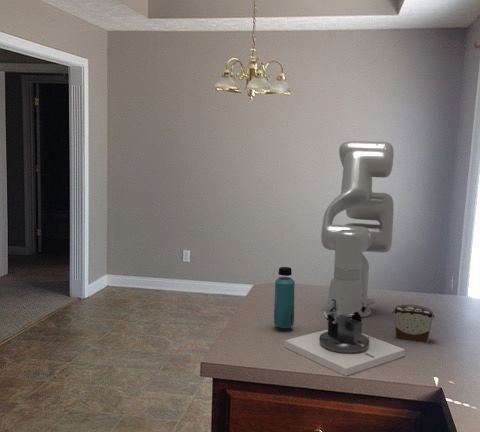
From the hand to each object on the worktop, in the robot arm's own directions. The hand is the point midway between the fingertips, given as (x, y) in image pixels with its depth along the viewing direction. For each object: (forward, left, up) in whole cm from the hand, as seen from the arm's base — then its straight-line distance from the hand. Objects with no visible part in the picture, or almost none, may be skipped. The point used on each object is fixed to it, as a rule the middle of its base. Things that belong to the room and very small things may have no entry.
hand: (344, 332), depth 161 cm
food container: (-26, +4, -6) cm, 27 cm away
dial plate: (0, 0, -6) cm, 6 cm away
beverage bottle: (+2, -24, -6) cm, 25 cm away
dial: (0, 0, -3) cm, 3 cm away
